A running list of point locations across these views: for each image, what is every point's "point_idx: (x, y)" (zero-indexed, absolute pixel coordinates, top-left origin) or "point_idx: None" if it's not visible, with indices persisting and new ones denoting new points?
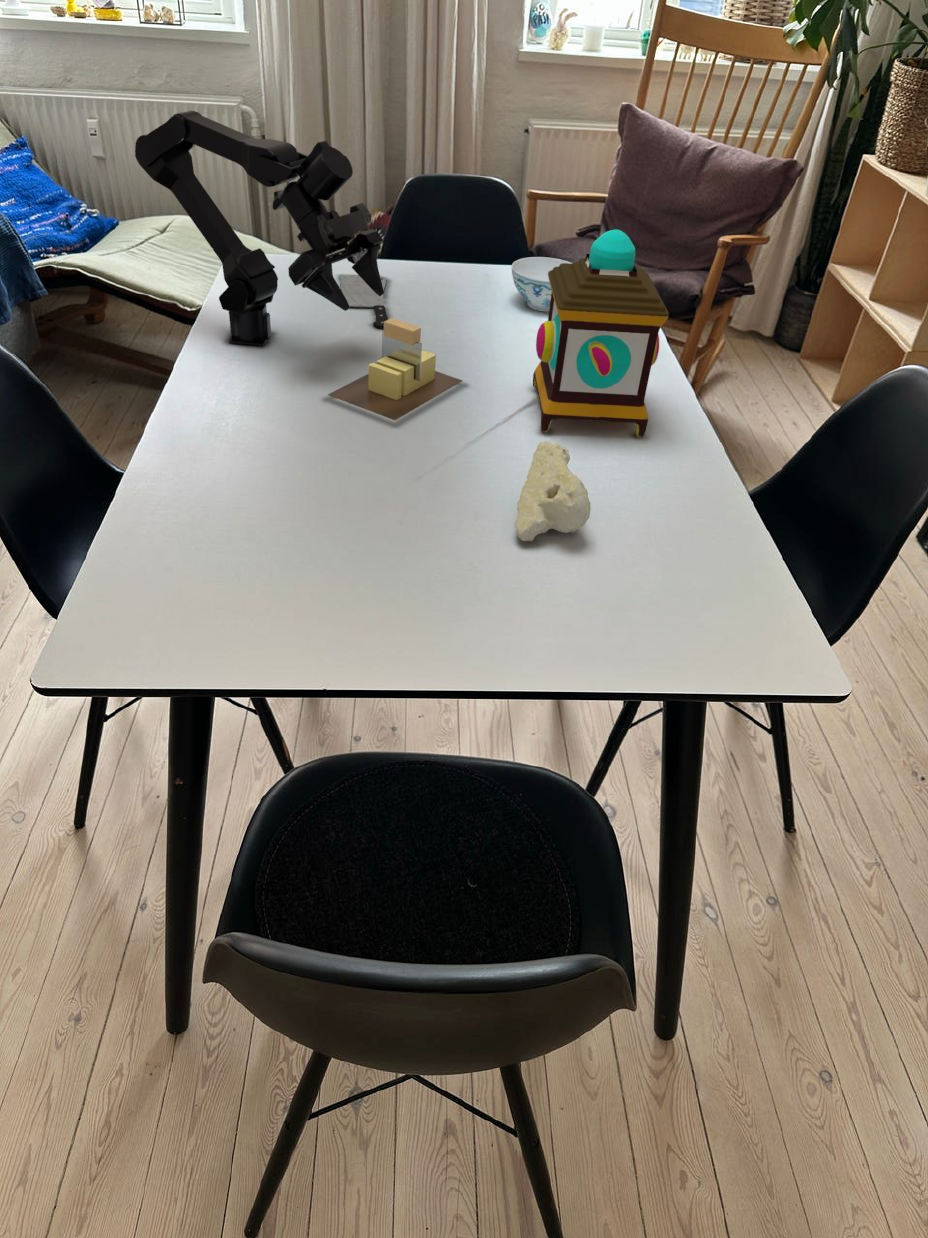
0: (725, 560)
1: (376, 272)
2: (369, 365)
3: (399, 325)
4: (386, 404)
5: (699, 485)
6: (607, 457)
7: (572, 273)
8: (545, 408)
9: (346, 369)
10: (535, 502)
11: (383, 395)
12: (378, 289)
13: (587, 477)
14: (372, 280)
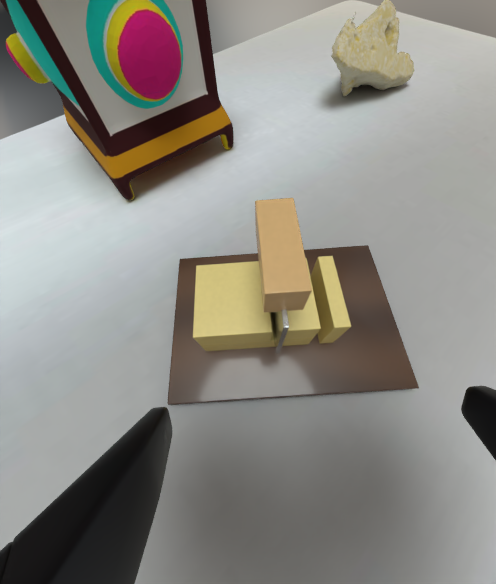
0: (297, 36)
1: (45, 547)
2: (350, 323)
3: (293, 240)
4: (344, 283)
5: (221, 65)
6: (231, 105)
7: None
8: (227, 118)
9: (279, 477)
10: (395, 54)
11: None
12: (158, 444)
13: (276, 100)
14: (118, 542)
